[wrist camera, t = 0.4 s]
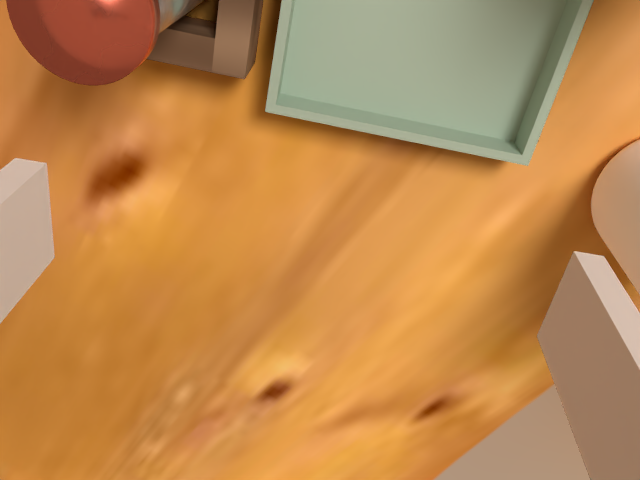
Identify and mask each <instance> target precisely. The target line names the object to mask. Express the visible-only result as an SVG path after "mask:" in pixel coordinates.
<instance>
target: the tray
mask: <svg viewBox="0 0 640 480" xmlns="http://www.w3.org/2000/svg"><path fill="white" fill-rule="evenodd" d="M593 1H594V0H282V2H281V8H280V15H279V22H278V28H277V35H276V42H275V48H274V55H273V62H272V68H271V75H270V82H269V88H268V95H267V102H266V108H265V112H268V113H273V114H278V115H283V116H288V117H293V118H298V119H302V120H307V121H312V122H317V123H322V124H327V125H332V126H337V127H341V128H346V129H351V130H356V131H361V132H366V133H371V134H376V135H380V136H385V137H390V138H395V139H400V140H405V141H410V142H415V143H419V144H424V145H429V146H434V147H439V148H444V149H449V150H454V151H458V152H463V153H468V154H473V155H478V156H483V157H488V158H493V159H497V160H502V161H507V162H512V163H517V164H522V165H527V166H528V165H529V162H530V160H531V157H532V155H533V152H534V149H535V147H536V144H537V142H538V139H539V137H540V134H541V132H542V129H543V127H544V124H545V122H546V119H547V117H548V114H549V112H550V109H551V107H552V104H553V102H554V99H555V97H556V94H557V91H558V89H559V86H560V84H561V81H562V79H563V76H564V74H565V71H566V69H567V66H568V64H569V61H570V59H571V56H572V54H573V51H574V49H575V46H576V44H577V41H578V38H579V36H580V33H581V31H582V28H583V26H584V23H585V21H586V18H587V16H588V13H589V11H590V8H591V6H592V3H593Z"/></svg>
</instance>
